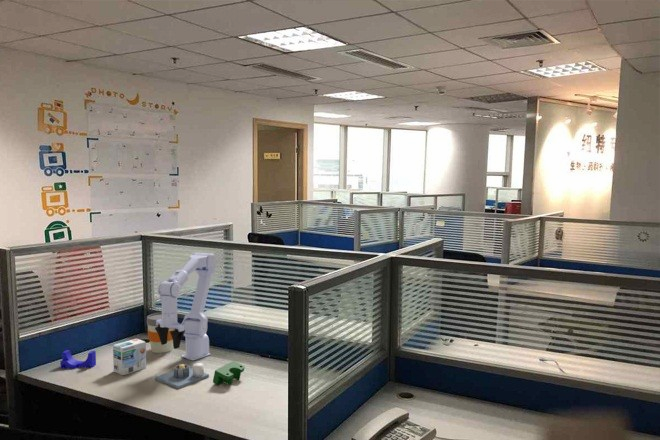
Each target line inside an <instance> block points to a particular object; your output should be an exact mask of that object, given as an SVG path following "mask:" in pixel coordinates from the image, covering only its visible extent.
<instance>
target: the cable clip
mask: <svg viewBox="0 0 660 440" xmlns="http://www.w3.org/2000/svg"><path fill="white" fill-rule="evenodd" d="M61 353H62V354H61V356H62V360H60V361H59V362H60V364H59V365H60V369H70V370H72V369H75V370H76V369H77V368H88V369H89V368H90V369H91V368H94V367H95V366H97V354H96V350H91V351H89V352H88V353H87V358H86V359H85V360H77V359H75V358H74V357H73V356H72V354H71V350H69V349H66V350H64V351H63V352H61Z"/></svg>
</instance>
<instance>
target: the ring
mask: <svg viewBox="0 0 660 440" xmlns="http://www.w3.org/2000/svg"><path fill="white" fill-rule="evenodd" d="M181 364H182V363H179V364H176V365H174V366H173V370H174V378H177V379H184V378H187V377H189V375H190V368H191V367H190V364H187V363H183V364H184V365H185V368H183V369H179V365H181Z"/></svg>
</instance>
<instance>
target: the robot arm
mask: <svg viewBox="0 0 660 440" xmlns="http://www.w3.org/2000/svg"><path fill="white" fill-rule="evenodd" d="M216 265H217V257H216V255H215V254H214V253H213V252H212V253H210V252H209V253H208V252H196V251H193V252H192V253H191V254H190V255H189V258H188V261H187V263H186V264H185V265H184V266H183V268H182V269H177V270H175V272H174V273H173V274H172V275H171V276H170V277H169V278H168V279H167V280H165V281H162V282H160V283H159V285H158V289H157V293H158V295H159V299H160V301H161V312H162V320H161V319H160V320H156V325H158V327H155V330H156V331H157V333H158V335H159V338H160V341H161V344H162V345H164V344H167V337H168V330H169V328H171V329H175V331H171V332H170V334H171V336H172V339H173V349H174V350H177V349H179V348H180V346H181V341H182V338H183V337H185V343H184V344H185V354H182V355H181V358H184V359H187V360H189V361H196V360H200V359H202V358H205V357H208V356H210V355H211V353H210V339H209V336H208V335H207V331H208V322H209V319H208V317H207V316H206V314H204V311H205V308H206V307H205V306H206V303H207V299H208V294H209V290H210V285H211V280H212V276H213V274H214V273H215V269H216ZM193 272H195V273H196V274H198V280H197V284H196V288H195V292H194V296H193V300H192V306H191V309H190V312H188V313H187V314H185V315H184V316H183V320H182V322H181V323H179V322H178V296H179V295H180V292H181V289H182V288H183V286H184V284H185V283H186V282H188V280H189V276H190V275H191V274H192V273H193Z"/></svg>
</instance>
